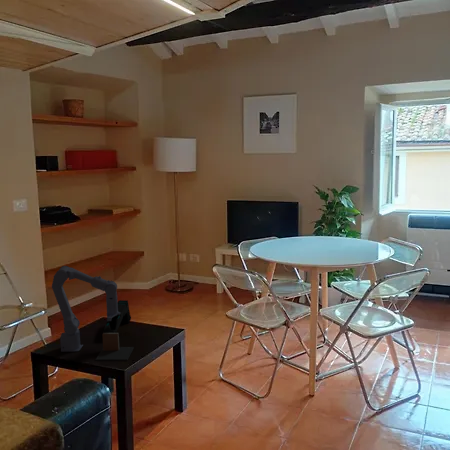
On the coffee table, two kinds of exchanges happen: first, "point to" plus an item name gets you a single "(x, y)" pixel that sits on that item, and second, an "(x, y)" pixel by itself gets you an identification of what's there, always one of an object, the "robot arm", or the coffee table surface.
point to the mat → (115, 354)
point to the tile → (110, 341)
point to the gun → (120, 316)
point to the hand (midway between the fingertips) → (113, 329)
